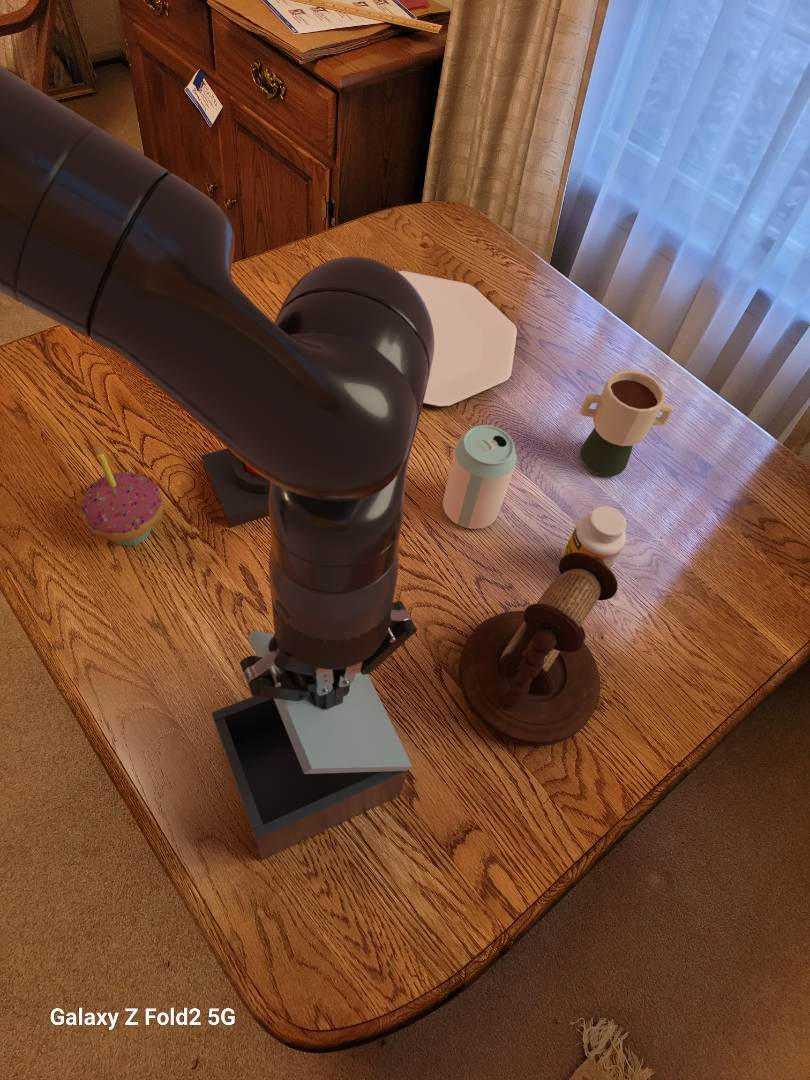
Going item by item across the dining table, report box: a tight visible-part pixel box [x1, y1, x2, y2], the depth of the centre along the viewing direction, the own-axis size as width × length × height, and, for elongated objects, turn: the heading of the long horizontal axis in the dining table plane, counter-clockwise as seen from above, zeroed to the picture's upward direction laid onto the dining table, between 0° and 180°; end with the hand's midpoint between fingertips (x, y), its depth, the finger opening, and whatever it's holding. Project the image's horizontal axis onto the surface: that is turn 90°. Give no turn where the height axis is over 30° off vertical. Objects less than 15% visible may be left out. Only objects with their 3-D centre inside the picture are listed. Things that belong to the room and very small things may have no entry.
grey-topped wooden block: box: [248, 629, 413, 774], centre depth 61 cm, size 15×12×1 cm
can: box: [442, 424, 518, 530], centre depth 87 cm, size 7×7×12 cm
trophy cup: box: [579, 369, 674, 478], centre depth 93 cm, size 11×7×13 cm, turn 86°
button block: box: [200, 448, 271, 529], centre depth 89 cm, size 12×10×4 cm
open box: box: [211, 695, 409, 861], centre depth 68 cm, size 14×12×8 cm
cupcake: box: [81, 447, 165, 547], centre depth 80 cm, size 9×8×12 cm
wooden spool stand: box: [458, 552, 619, 747], centre depth 71 cm, size 15×15×20 cm
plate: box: [397, 270, 518, 408], centre depth 108 cm, size 28×28×2 cm
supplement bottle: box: [558, 505, 627, 570], centre depth 84 cm, size 6×6×10 cm
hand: (328, 696), depth 59 cm, fingers closed
